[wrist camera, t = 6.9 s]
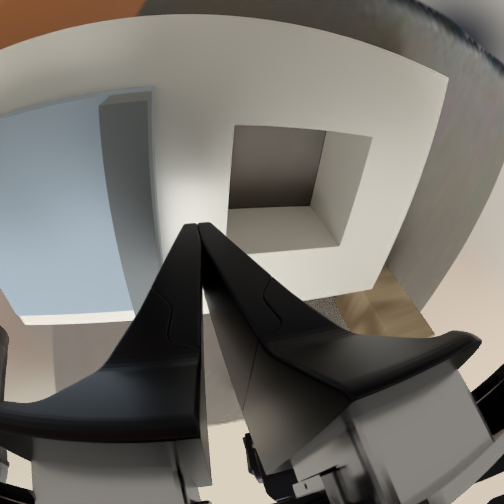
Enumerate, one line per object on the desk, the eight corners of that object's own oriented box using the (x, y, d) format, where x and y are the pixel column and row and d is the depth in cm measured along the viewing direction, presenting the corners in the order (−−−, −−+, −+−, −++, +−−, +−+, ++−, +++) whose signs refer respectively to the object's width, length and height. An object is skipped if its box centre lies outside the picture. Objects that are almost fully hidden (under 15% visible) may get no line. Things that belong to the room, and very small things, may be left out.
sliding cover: (166, 288, 14) (170, 336, 11) (22, 297, 11) (10, 342, 9) (154, 85, 8) (147, 100, 6) (-38, 129, 6) (-79, 159, 4)
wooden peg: (369, 295, 27) (410, 362, 21) (334, 302, 26) (374, 376, 20) (384, 263, 24) (435, 334, 18) (348, 269, 23) (398, 348, 17)
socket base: (345, 251, 21) (371, 289, 19) (39, 277, 16) (25, 324, 13) (398, 62, 13) (448, 78, 10) (-12, 64, 7) (-59, 79, 4)
